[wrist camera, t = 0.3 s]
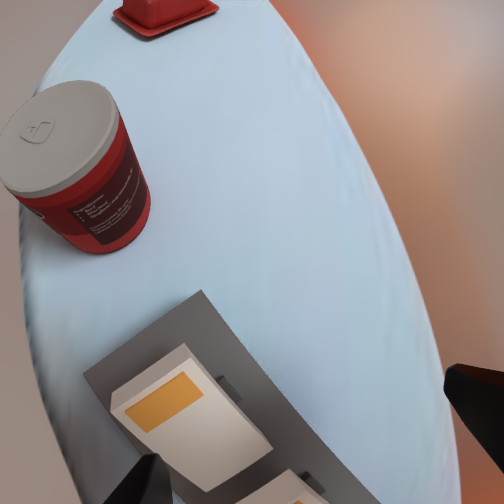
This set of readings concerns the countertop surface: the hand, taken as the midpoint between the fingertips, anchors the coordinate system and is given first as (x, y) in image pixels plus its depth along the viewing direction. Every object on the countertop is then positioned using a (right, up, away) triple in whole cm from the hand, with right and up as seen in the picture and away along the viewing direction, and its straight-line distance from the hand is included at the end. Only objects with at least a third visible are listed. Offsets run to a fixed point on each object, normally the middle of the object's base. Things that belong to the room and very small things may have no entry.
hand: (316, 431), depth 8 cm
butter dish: (-14, +37, +25) cm, 46 cm away
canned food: (-14, +8, +16) cm, 23 cm away
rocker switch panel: (0, -13, +11) cm, 17 cm away
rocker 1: (-5, -3, +6) cm, 8 cm away
